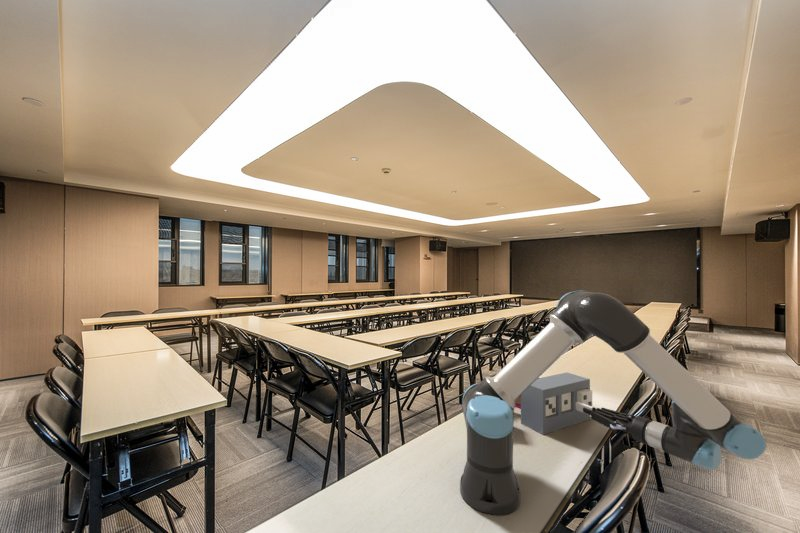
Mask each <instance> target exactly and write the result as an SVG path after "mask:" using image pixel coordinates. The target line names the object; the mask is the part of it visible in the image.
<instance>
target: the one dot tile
mask: <svg viewBox="0 0 800 533" xmlns="http://www.w3.org/2000/svg"><path fill="white" fill-rule="evenodd" d="M570 409H571V392H570V393H566V394H562V412H563V411H566V410H570Z"/></svg>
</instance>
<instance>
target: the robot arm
mask: <svg viewBox="0 0 800 533" xmlns="http://www.w3.org/2000/svg"><path fill="white" fill-rule="evenodd" d="M592 336H594V337H596V338H598V339H600V340H601V341H603V342H604V343H606V344H607V345H609V346H610V347H611V348H612V350H614V351H615V352H616V353H622V354H624V356H626V357H627V358H628V359H629V360H630V361H631V362H632V363H634V365H635V366H636V367H637V368H638V369H639V370H641V371H642V372H643V373H644V374H645V375H646V376H647V377H648V378H649V379H650V380H651V381H652V382H653V383H654V384H655V385H656V386H657V387H658V388H659V389H660V390H661V391H662V392H663V393H664V394H665V395H666V396H667V397H669V399H671V406H672V407H671V408H672V409H671V410H672V412H671V413H672V426H670V425H668V424H665V423H663V422H662V423H661V422H658V421H656V420H651V419H649V418H646V417H644V416H640V415H638V416H636V415H634V414H627V413H624V412H620V411H617V410H614V409H613V410H612V409H610V408H609V409H608V408H606V407H601V408H600V407H597V408H596V407H594V406H593V405H592V406H589V405H586V404H583V403H581V402H576V410H578V411H580V412H583V413H586V414H588V415H590V420H593V421H595V422H596V423H598V424H601V425H602V426H604V427H606V428H608V429H610V431H612V432H614V433H616V432H617V430H620V431H622V432H624V433H627V434H628V433H629V434H630V435H631V437H632V439H633V440H634V441H636V442H639V443H641V444H643V445H645V446H647V445H648V446H650V447H652V448H654V449H657V450H659V452H661V453H663V452H664V453H666V454H670V455H671V456H674V457H676V458H679V459H681V460H683V461H686V462H687V463H690V464H692V465H695V466H698V467H701V468H704V469H708V470H711V471H712V470H713V471H715V470H717V468H718V467H719V466H720V464H721V460H722V449H721V447H722V448H723V449H724V450H726V451H727V452H728V453H730V454H733V455H735V456H737V457H739V458H741V459H744V460H754V459H758V458H759V457H760V456H762V455H763V454H764V453H765V452H766V448H767V443H766V442H767V441H766V439H765V437H764V436H763V433H761V432H760V431H759V430H758V429H756V428H754V427H752V426H751V425H749V424H748V423H744V422H743V421H741V420H740V419H739V418H738V417H737V416H736V415H734V413H732V411H731V410H729V409H728V408H727V407H726V406H725V405H723V403H721V401H720V400H718V399H717V398H716V397H715V396H714V395H713V393H711V392H710V391H709V390H708V389H707V388H706V387H705V386H704V385H703V384H702V383H701V382H699V381H698V380H697V378H695V376H694V375H693V374H691V373H690V372H689V371H688V370H687V368H685V367H684V366H683V365H682V364H681V363H680V362H679V361H678V360H677V359H675V357H673V356H672V355H671V354H670V353H669V352H668V351H667V350H666V349H665V348H664V347H663V346H662V345H661V344H660V342H658V341H657V340H656V339H655V338H654V337H653V336H652V335H651V329H650V328H649V326H647V325H646V324H645V323H644V322H643V321H642V320H641V318H639V317H638V316H637V315H636V314H635V313H634V312H633V311H632V310H631V309H630V308H628V307H627V306H626V305H625V304H624V303H623V302H622V301H620V300H619V299H617V298H616V297H613V296H612V295H610V294H607V293H602V292H594V291H593V292H591V291H588V290H575V291H570V292H567V293H565V294H564V295H562V296H561V297H560V299H559V300H558V302H557V304H556V309H554V310H553V311H552V312H551V314H549V323H548V324H547V325H546V326H544V328H543V329H542V330H540V331H539V332H538V333H537V334H536V335H535V337H533V338H532V339H531V340H530V341H529V342H528V343H527V344H526V345H525V346H524V347H523V348H522V349H521V350H520V351H519V352H517V354H515V356H513V358H512V359H511V360H509V361H508V363H507V364H505V365H504V367H502V368H501V369H500V370H499V371H498V372H497V373H496V374H495V375H494V376H485V377H484V378H483V379H482V380H481V381H480V382H479V383H474V384H471V385H470V386H469V387H468V388H467V389H466V390H465V392H464V393H463V396H462V399H461V400H462V401H461V407H462V408H461V409H462V414H463V417H464V422H465V426H466V461H465V465H464V468H463V473H462V474H461V477H460V480H459V492H460V495H461V498H462V499H463V501H464V502H466V503H467V504H468V505H469V506H470V507H471V508H472V509H474V510H477V511H479V512H482V513H485V514H487V515H488V514H489V515H494V516H495V515H496V516H503V515H508V514H511V513H513V512H515V511H517V509H518V508H519V507H520V504H521V490H520V486H519V484H518V481H517V476H516V474H515V470H514V424H515V423H514V421H515V420H514V416H513V415H514V413H512V410H514V411H515V409H516V407H515V400H516V399H517V398H518V397H519V396H520V395H521V394H522V393H523V392H524V391H525V390H526V389H527V388H528V387H529V386H530V385H531V384H532V383H533V382H534V381H535V380H536V379H538V378H541V376H542V375H543V374H544V373H545V372H546V371H547V370H548V369H549V368H550V367H552V365H554V363H555V362H556V361H558V360H559V359H560V358H561V357H562V356H563V355H564V354H565V353H567V352H568V350H569V349H570V348H571V347H572V346H573V345H577V344H580V345H583V344H584V343H585V342H586V341H587V340H588V339H589V338H590V337H592Z"/></svg>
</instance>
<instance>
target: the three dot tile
mask: <svg viewBox="0 0 800 533" xmlns="http://www.w3.org/2000/svg"><path fill="white" fill-rule="evenodd" d="M553 414H556V396H554V397H550V398H546V416H549V415H553Z"/></svg>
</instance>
